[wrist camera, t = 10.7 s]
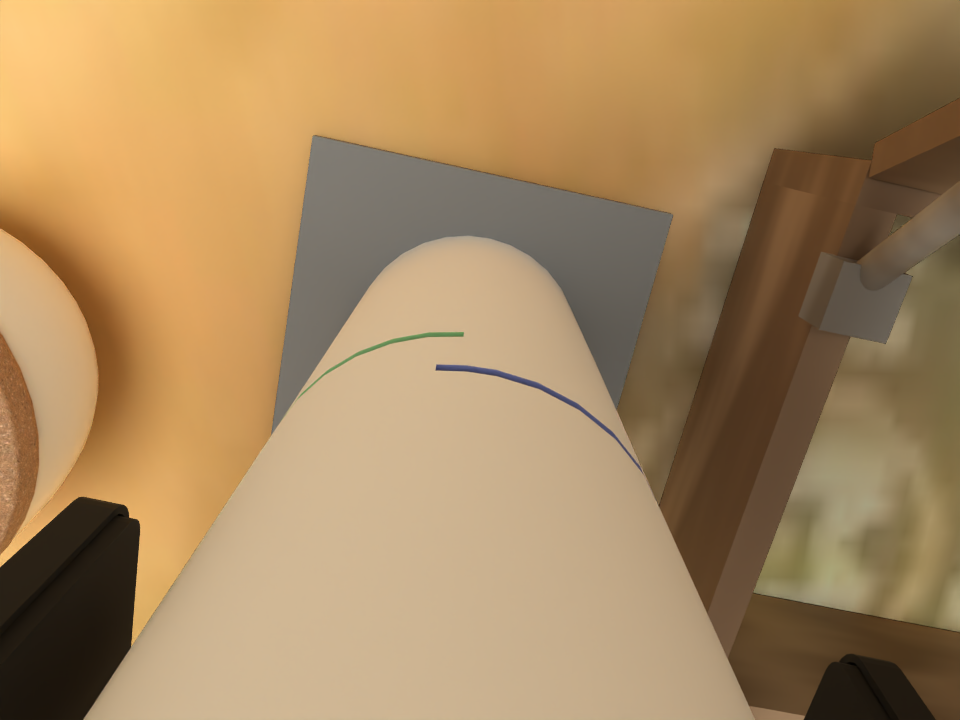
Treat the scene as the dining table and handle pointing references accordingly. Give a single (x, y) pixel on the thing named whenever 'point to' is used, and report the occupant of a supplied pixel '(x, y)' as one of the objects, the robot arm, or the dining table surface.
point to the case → (806, 403)
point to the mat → (460, 212)
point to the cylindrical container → (438, 533)
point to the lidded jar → (39, 385)
